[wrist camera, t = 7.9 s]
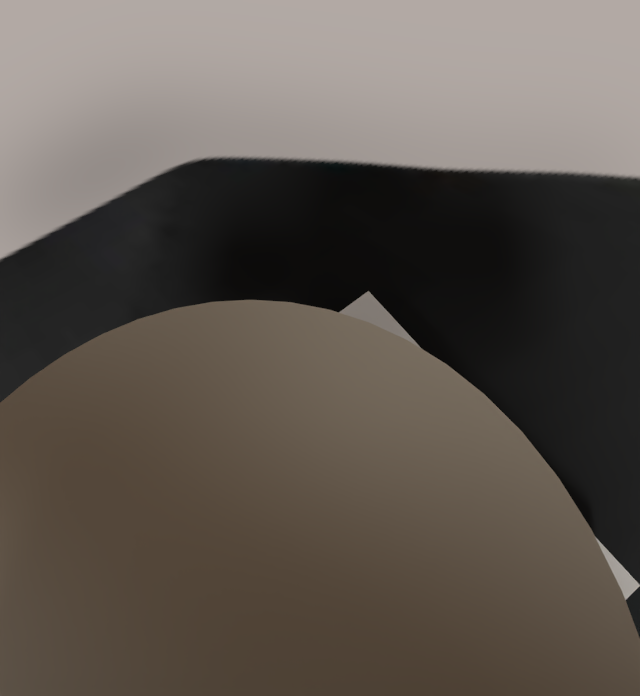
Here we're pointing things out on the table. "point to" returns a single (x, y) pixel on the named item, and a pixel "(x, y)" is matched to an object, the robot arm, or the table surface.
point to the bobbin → (289, 523)
